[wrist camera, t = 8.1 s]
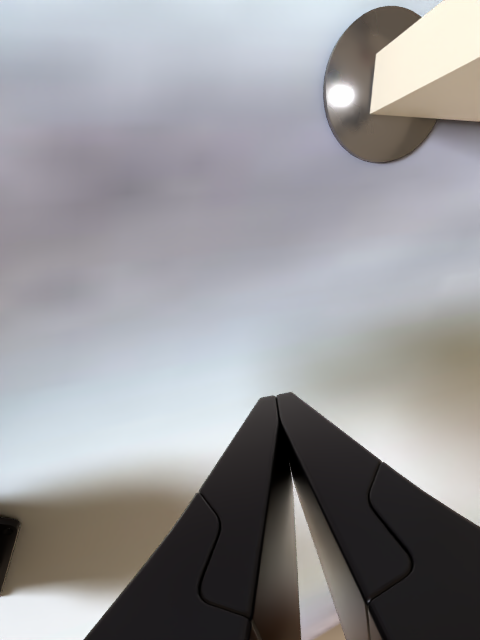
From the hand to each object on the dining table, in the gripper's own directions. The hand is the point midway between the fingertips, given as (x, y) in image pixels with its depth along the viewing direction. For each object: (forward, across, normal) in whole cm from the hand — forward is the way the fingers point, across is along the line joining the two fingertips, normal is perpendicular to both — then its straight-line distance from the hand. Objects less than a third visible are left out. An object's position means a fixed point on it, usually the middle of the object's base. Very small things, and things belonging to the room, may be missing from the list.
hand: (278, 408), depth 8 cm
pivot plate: (+13, +8, +7) cm, 17 cm away
